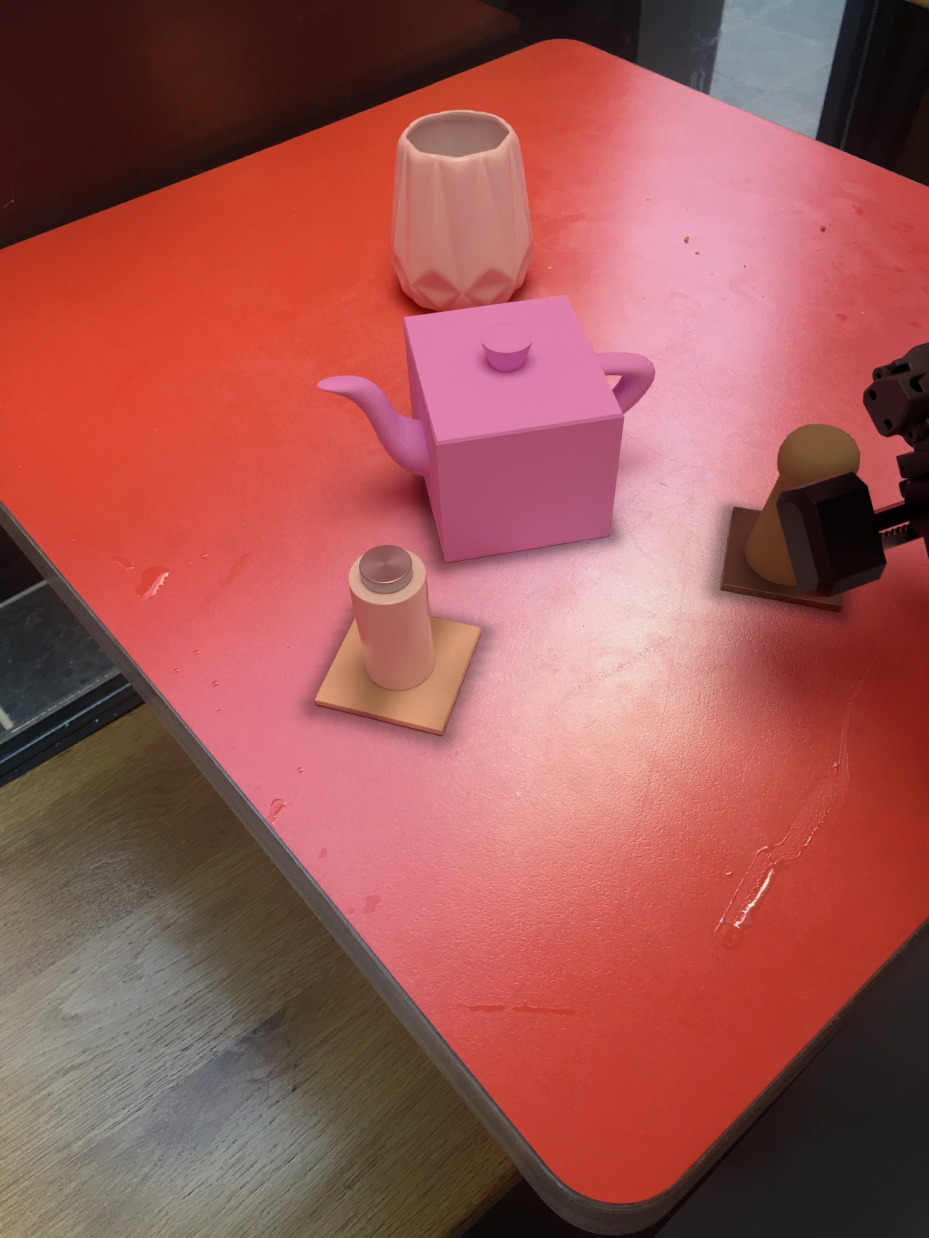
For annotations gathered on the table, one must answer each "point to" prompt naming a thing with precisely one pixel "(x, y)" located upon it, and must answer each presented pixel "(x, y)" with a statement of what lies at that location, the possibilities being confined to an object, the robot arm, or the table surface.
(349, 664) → the pale mat
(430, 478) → the teapot
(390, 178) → the table surface
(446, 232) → the vase
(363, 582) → the salt shaker
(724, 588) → the dark mat
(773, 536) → the cork
